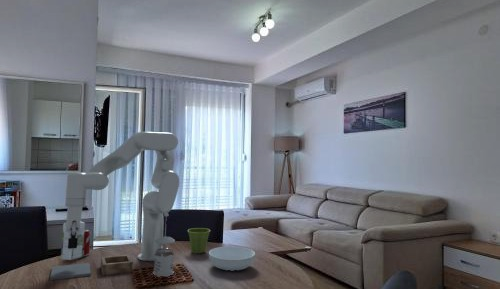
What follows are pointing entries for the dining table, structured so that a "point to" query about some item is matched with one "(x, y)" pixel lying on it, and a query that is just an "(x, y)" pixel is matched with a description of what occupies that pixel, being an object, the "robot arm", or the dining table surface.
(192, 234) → the plant pot
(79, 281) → the dining table surface
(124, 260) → the holder
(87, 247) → the soda can
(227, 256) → the serving bowl
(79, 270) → the mat
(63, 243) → the syrup box
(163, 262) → the french press
